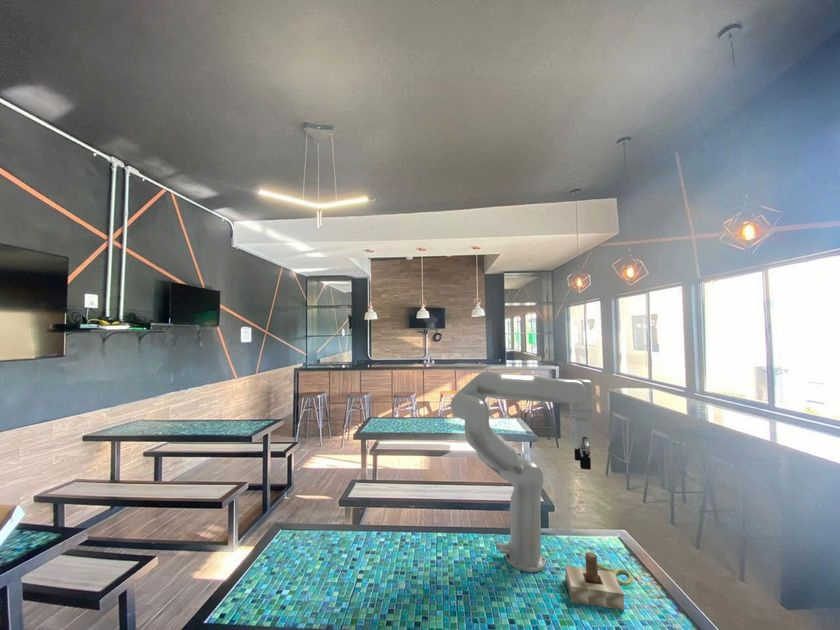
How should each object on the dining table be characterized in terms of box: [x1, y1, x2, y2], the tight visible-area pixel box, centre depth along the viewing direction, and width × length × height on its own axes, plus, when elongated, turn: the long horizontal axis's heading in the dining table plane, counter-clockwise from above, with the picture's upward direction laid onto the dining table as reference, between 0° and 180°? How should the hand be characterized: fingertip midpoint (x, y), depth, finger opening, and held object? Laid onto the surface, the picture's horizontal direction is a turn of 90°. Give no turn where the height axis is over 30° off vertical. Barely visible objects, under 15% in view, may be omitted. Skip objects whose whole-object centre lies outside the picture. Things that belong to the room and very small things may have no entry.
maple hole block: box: [564, 564, 625, 611], centre depth 104 cm, size 13×10×4 cm
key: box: [597, 562, 634, 586], centre depth 113 cm, size 7×12×2 cm, turn 65°
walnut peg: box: [584, 552, 599, 584], centre depth 104 cm, size 3×3×10 cm
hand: (582, 464), depth 129 cm, fingers open, 9 cm apart
